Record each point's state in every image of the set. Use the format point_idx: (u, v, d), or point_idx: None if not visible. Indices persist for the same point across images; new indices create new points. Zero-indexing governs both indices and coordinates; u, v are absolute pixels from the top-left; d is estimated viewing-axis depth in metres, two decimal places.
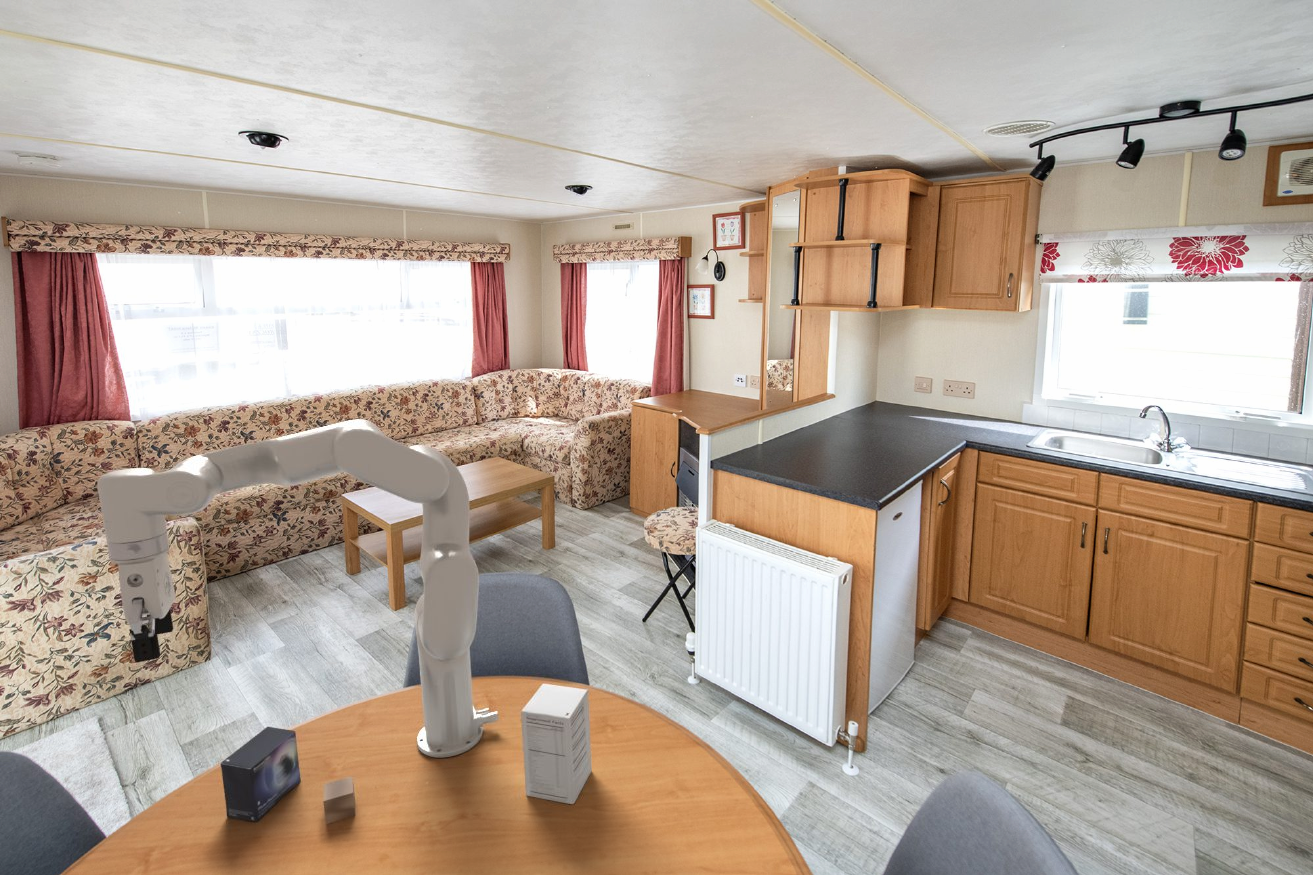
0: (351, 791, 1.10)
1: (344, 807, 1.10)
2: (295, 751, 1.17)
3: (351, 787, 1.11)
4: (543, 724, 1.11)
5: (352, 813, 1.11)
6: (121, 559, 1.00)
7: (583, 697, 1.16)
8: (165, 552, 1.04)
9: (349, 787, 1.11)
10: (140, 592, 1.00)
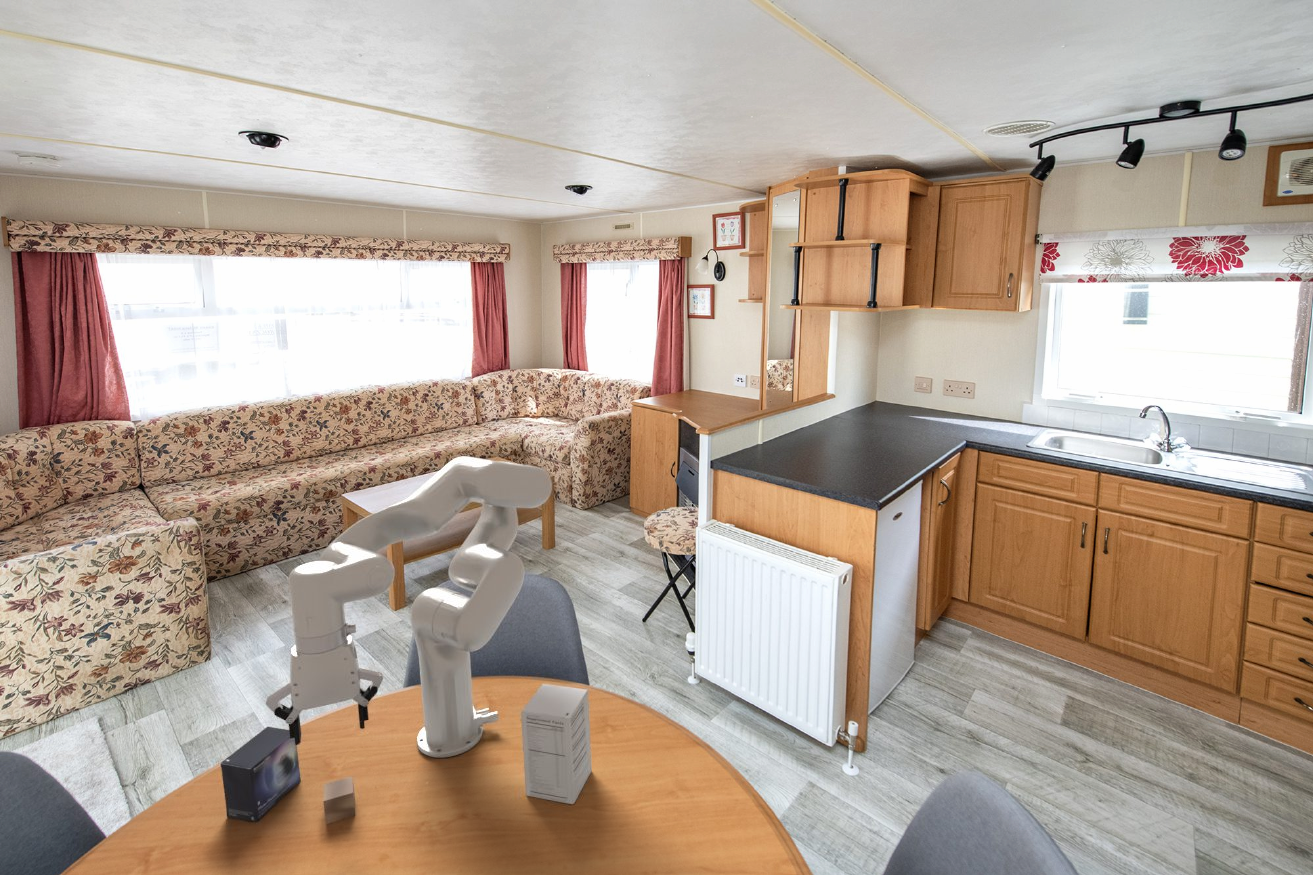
0: (351, 791, 1.10)
1: (344, 807, 1.10)
2: (295, 751, 1.17)
3: (351, 787, 1.11)
4: (543, 724, 1.11)
5: (352, 813, 1.11)
6: (344, 641, 1.06)
7: (583, 697, 1.16)
8: None
9: (349, 787, 1.11)
10: (357, 662, 1.09)
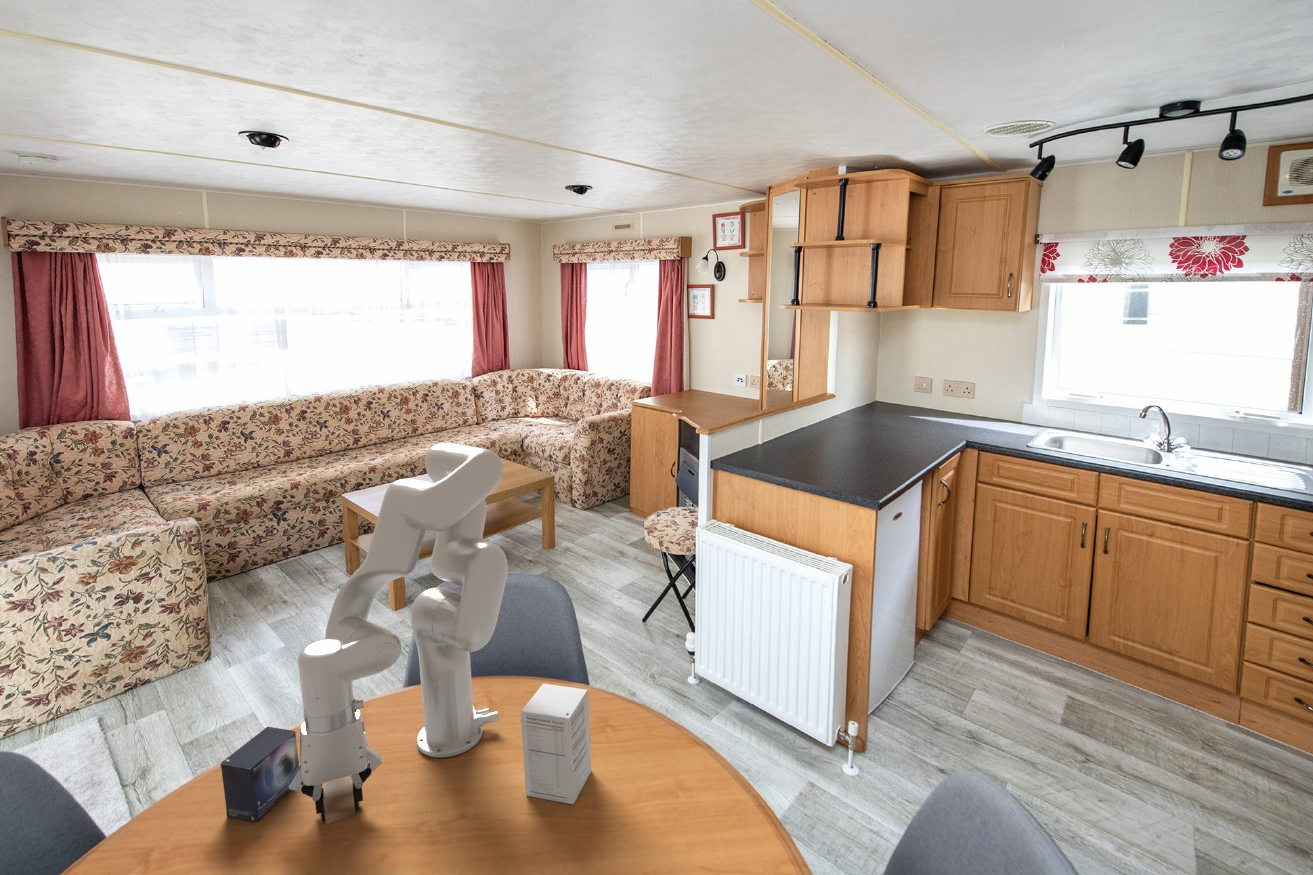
0: (351, 791, 1.10)
1: (344, 807, 1.10)
2: (295, 751, 1.17)
3: (351, 787, 1.11)
4: (543, 724, 1.11)
5: (352, 813, 1.11)
6: (352, 717, 1.09)
7: (583, 697, 1.16)
8: None
9: (349, 786, 1.11)
10: (365, 735, 1.12)
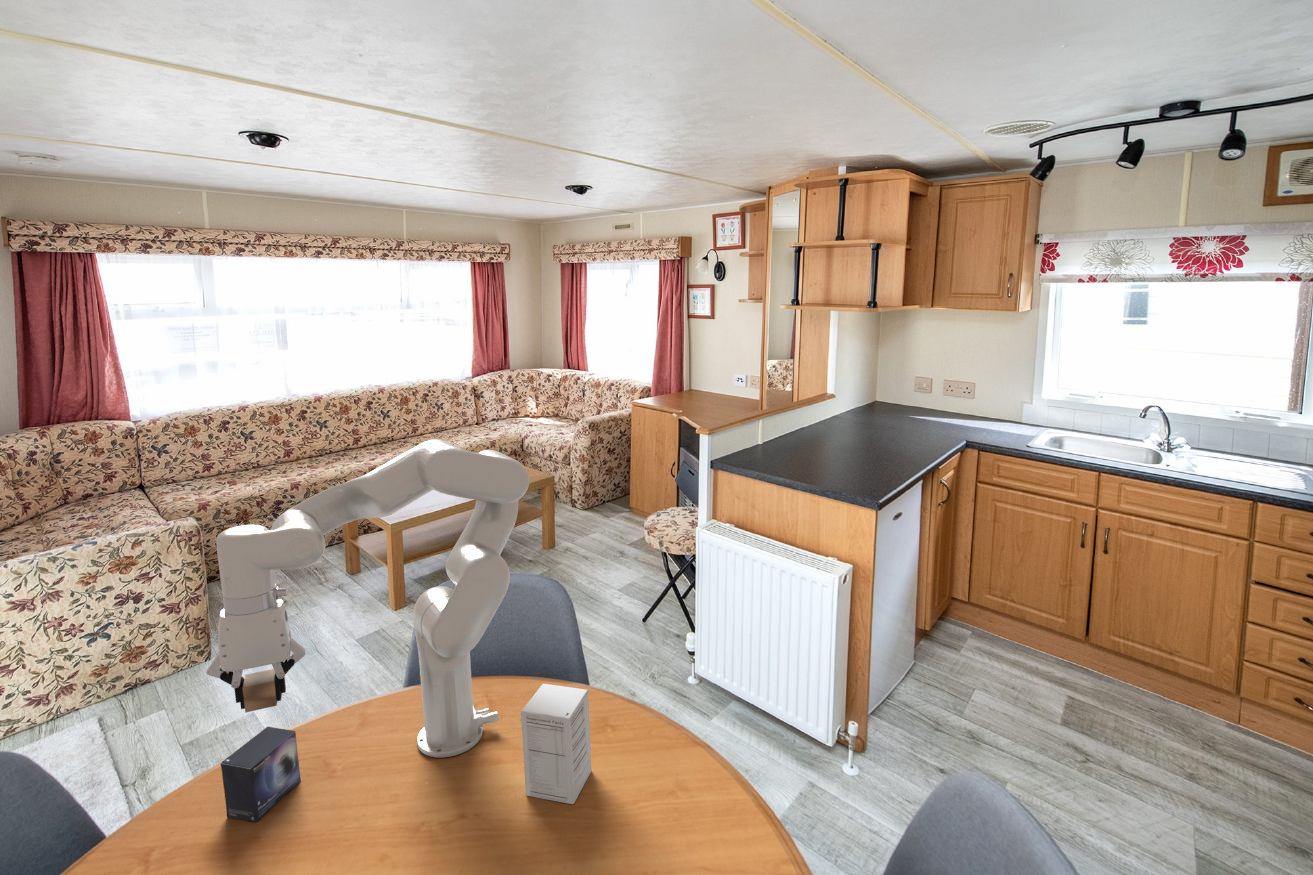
0: (272, 680, 1.09)
1: (264, 696, 1.08)
2: (295, 751, 1.17)
3: (273, 677, 1.10)
4: (543, 724, 1.11)
5: (273, 703, 1.09)
6: (273, 604, 1.07)
7: (583, 697, 1.16)
8: None
9: (271, 677, 1.10)
10: (288, 626, 1.11)
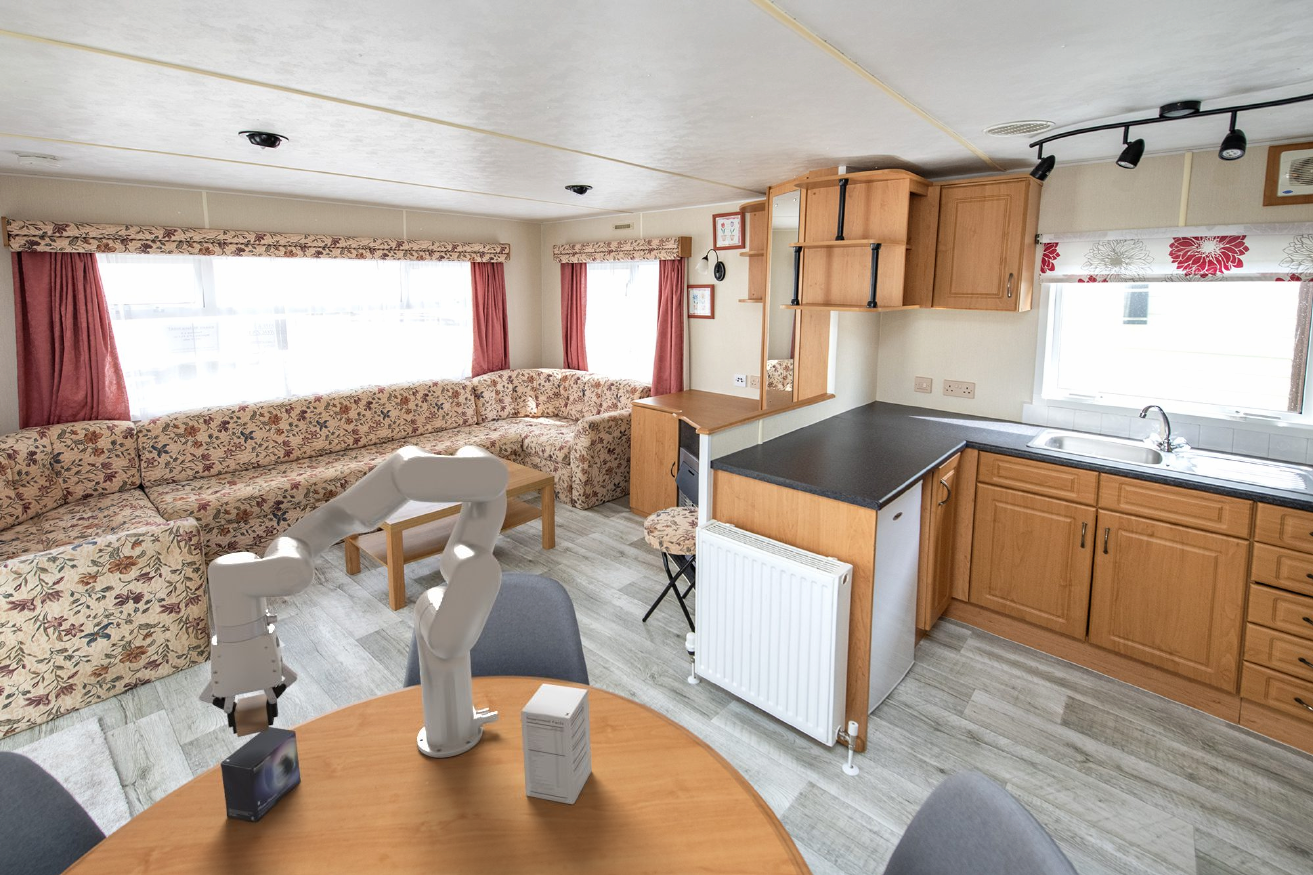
0: (264, 705, 1.10)
1: (256, 721, 1.10)
2: (295, 751, 1.17)
3: (264, 702, 1.11)
4: (543, 724, 1.11)
5: (265, 727, 1.11)
6: (264, 630, 1.09)
7: (583, 697, 1.16)
8: None
9: (263, 702, 1.11)
10: (280, 651, 1.12)
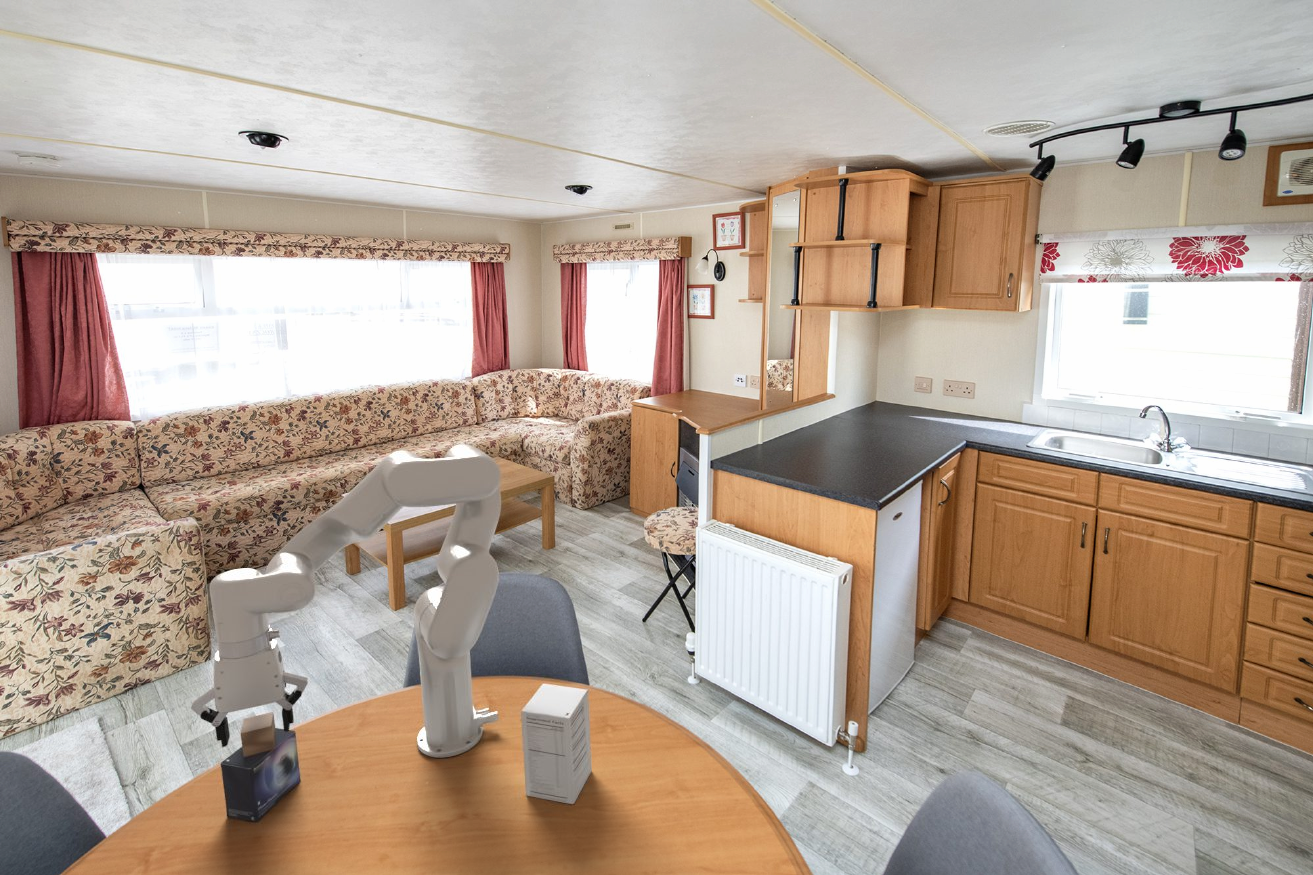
0: (269, 725, 1.11)
1: (262, 740, 1.11)
2: (295, 751, 1.17)
3: (270, 721, 1.12)
4: (543, 724, 1.11)
5: (271, 747, 1.12)
6: (267, 646, 1.09)
7: (583, 697, 1.16)
8: None
9: (268, 721, 1.12)
10: (282, 666, 1.13)
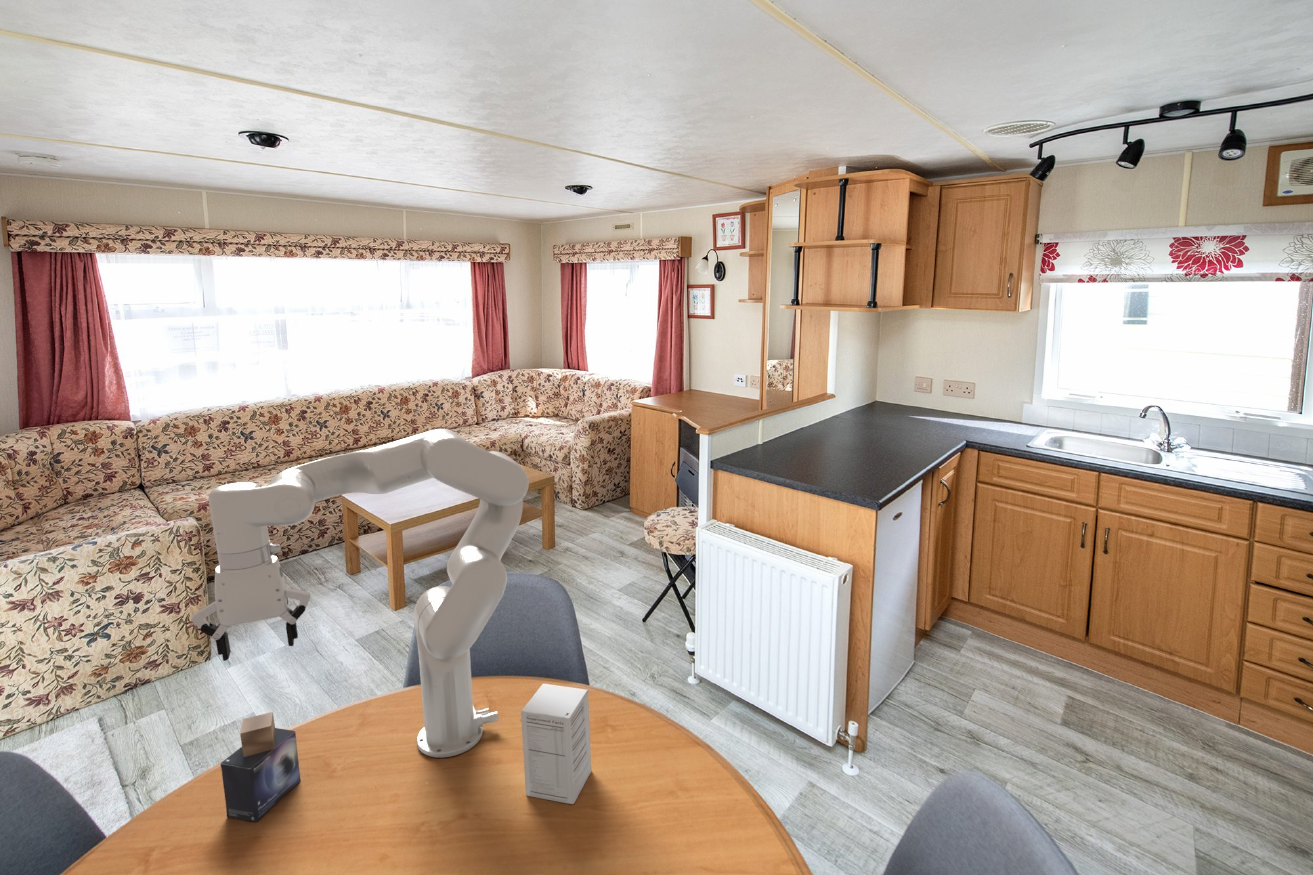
0: (269, 724, 1.11)
1: (262, 740, 1.11)
2: (295, 751, 1.17)
3: (270, 721, 1.12)
4: (543, 724, 1.11)
5: (270, 747, 1.12)
6: (268, 559, 1.09)
7: (583, 697, 1.16)
8: None
9: (268, 721, 1.12)
10: (284, 582, 1.13)
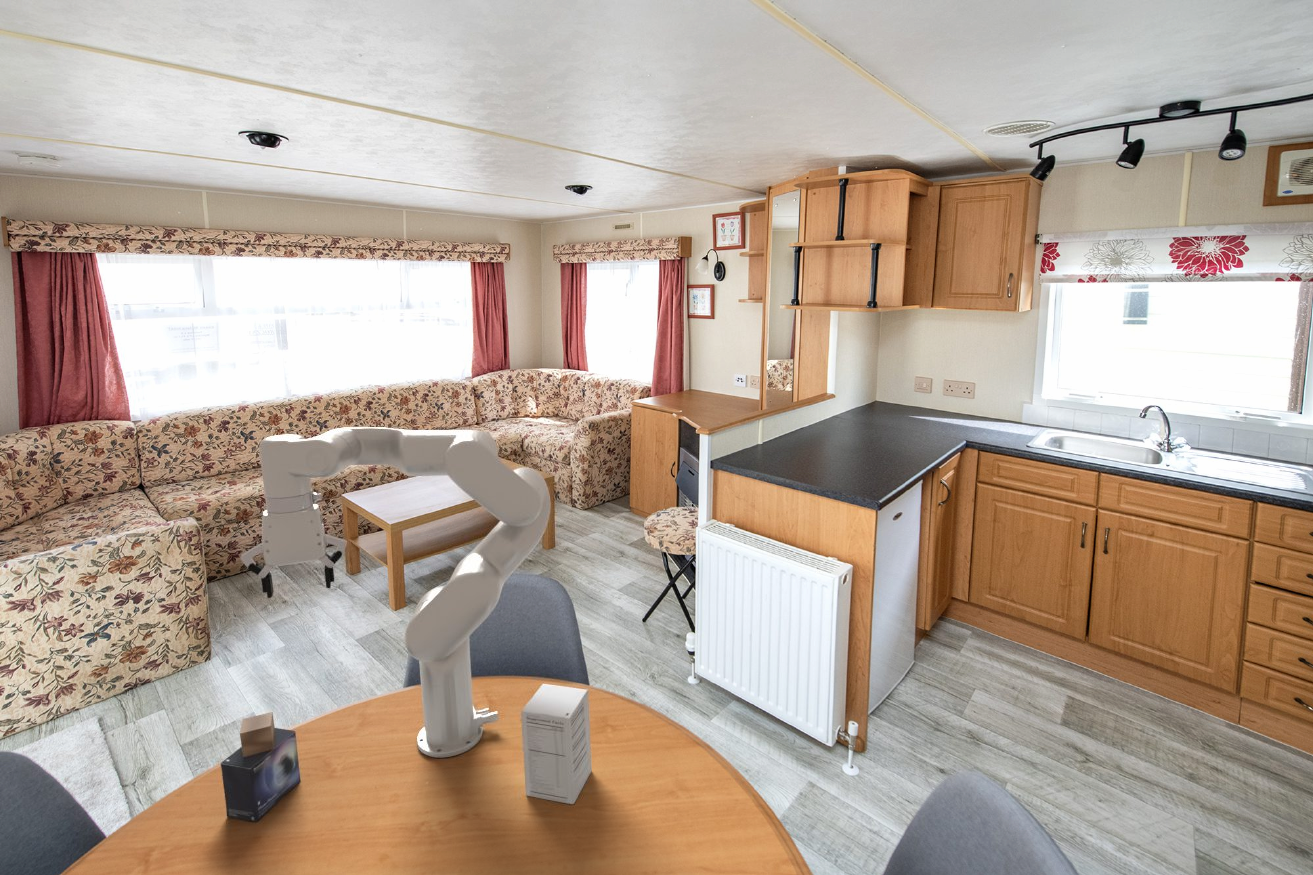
0: (269, 725, 1.11)
1: (261, 740, 1.11)
2: (295, 751, 1.17)
3: (269, 721, 1.12)
4: (543, 724, 1.11)
5: (270, 747, 1.12)
6: (310, 506, 1.19)
7: (583, 697, 1.16)
8: None
9: (268, 721, 1.12)
10: (323, 528, 1.22)
